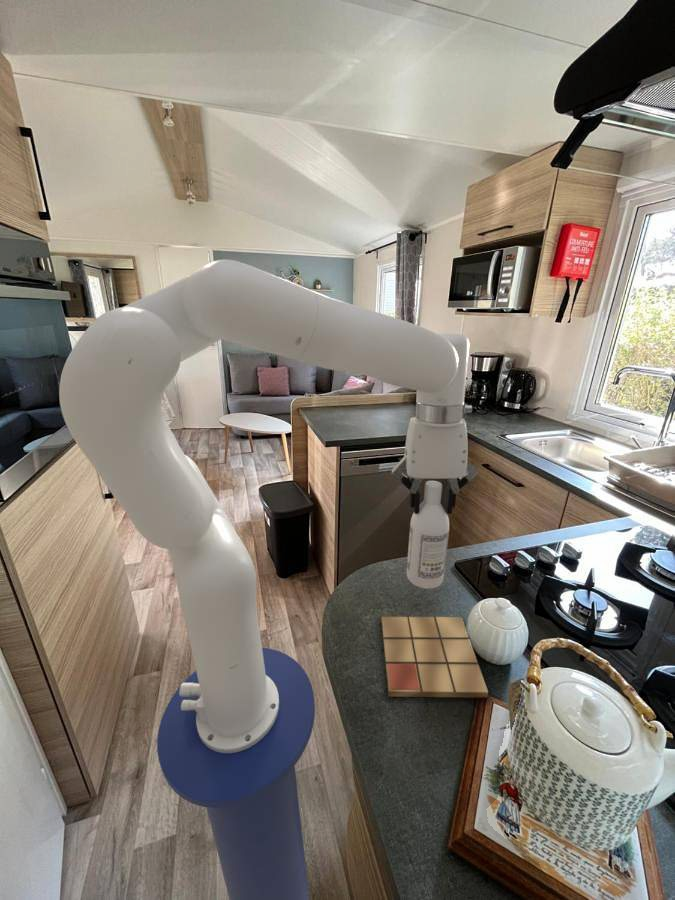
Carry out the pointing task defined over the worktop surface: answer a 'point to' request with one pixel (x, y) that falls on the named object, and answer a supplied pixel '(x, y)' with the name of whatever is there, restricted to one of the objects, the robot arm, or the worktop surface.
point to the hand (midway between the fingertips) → (431, 509)
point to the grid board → (430, 658)
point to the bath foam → (428, 540)
